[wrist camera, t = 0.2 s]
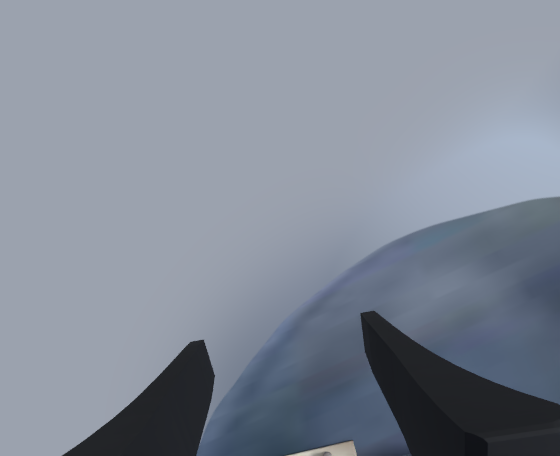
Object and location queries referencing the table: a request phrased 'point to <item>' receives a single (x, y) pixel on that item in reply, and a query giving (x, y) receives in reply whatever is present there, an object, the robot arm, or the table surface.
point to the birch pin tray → (331, 450)
